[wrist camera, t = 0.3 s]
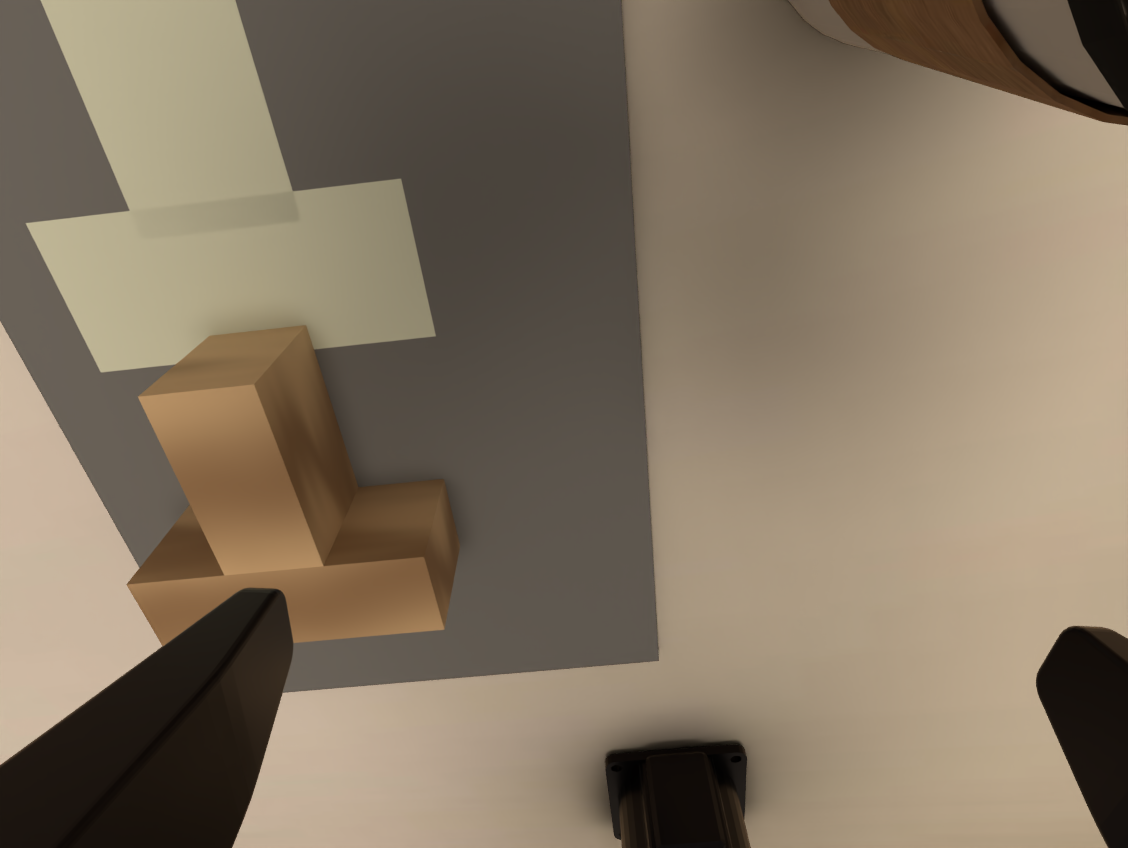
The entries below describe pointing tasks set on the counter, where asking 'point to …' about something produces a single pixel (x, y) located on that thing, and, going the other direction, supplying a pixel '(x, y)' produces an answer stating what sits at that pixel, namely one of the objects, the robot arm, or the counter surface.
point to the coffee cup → (999, 44)
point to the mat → (355, 278)
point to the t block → (285, 502)
